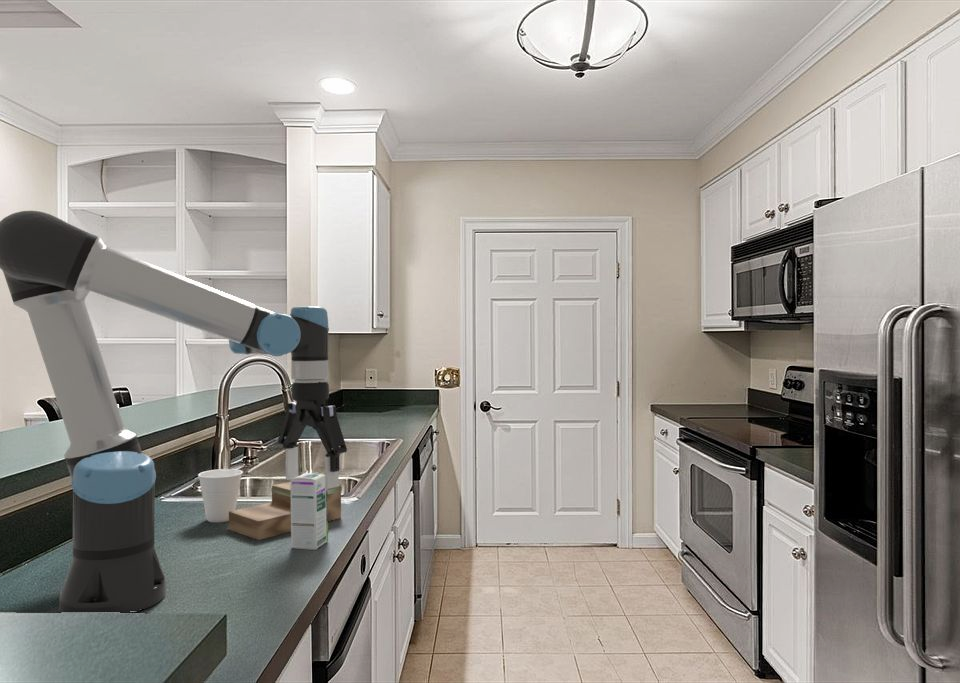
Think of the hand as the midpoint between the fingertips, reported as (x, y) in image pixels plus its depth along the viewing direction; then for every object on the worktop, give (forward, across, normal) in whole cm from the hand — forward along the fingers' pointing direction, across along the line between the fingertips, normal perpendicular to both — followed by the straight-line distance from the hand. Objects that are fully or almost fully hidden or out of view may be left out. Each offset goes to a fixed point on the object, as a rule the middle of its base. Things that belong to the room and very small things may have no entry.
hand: (311, 482), depth 135 cm
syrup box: (+13, 0, 0) cm, 13 cm away
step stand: (+13, +17, -6) cm, 22 cm away
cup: (+13, +32, +2) cm, 35 cm away
